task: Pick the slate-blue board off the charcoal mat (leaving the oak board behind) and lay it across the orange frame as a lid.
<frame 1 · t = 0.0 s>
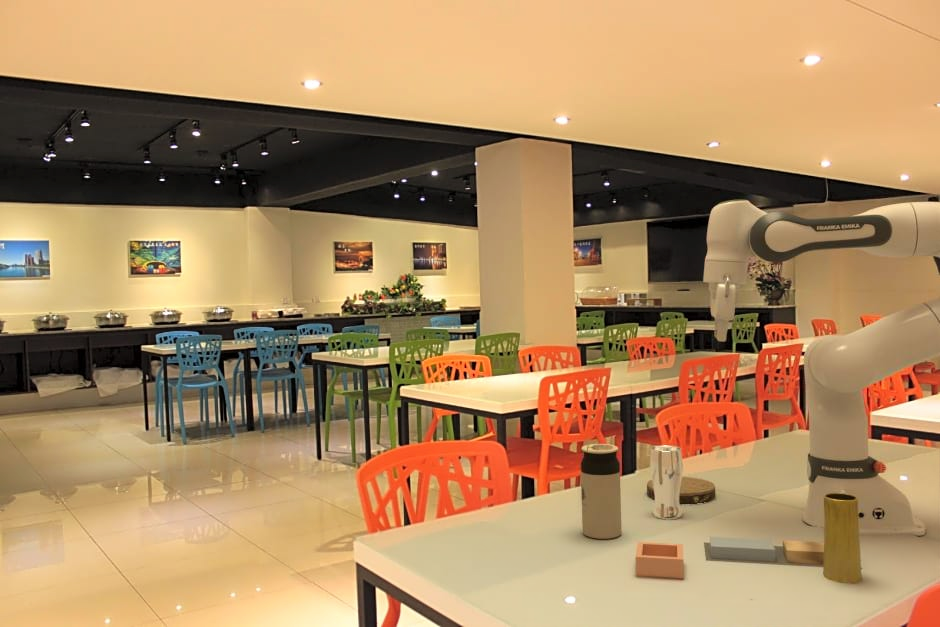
hand: (719, 339, 165), 39 cm above the table, tool pointing down, fingers open, 8 cm apart
travel mug: (602, 534, 158), on the table
vase: (842, 580, 130), on the table
oak board: (817, 558, 138), point 1 cm above the table, touching mat
orange frame: (660, 572, 136), on the table
wood slice coaster: (680, 497, 185), on the table
mat: (778, 558, 141), on the table
slate board: (741, 554, 141), point 1 cm above the table, touching mat
beer glass: (667, 516, 169), on the table
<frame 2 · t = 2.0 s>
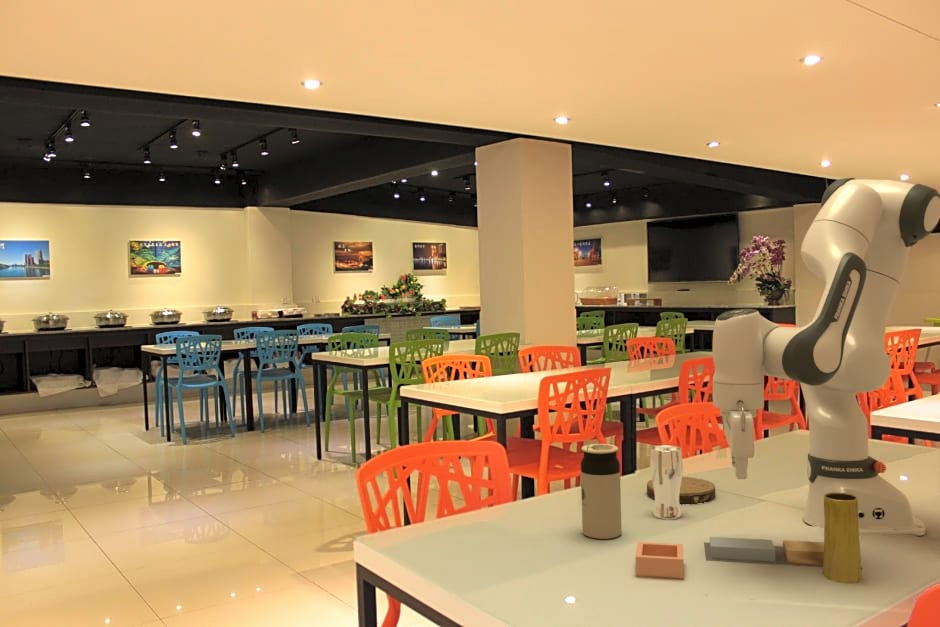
hand: (738, 472, 141), 16 cm above the table, tool pointing down, fingers open, 8 cm apart
nothing on the table moved.
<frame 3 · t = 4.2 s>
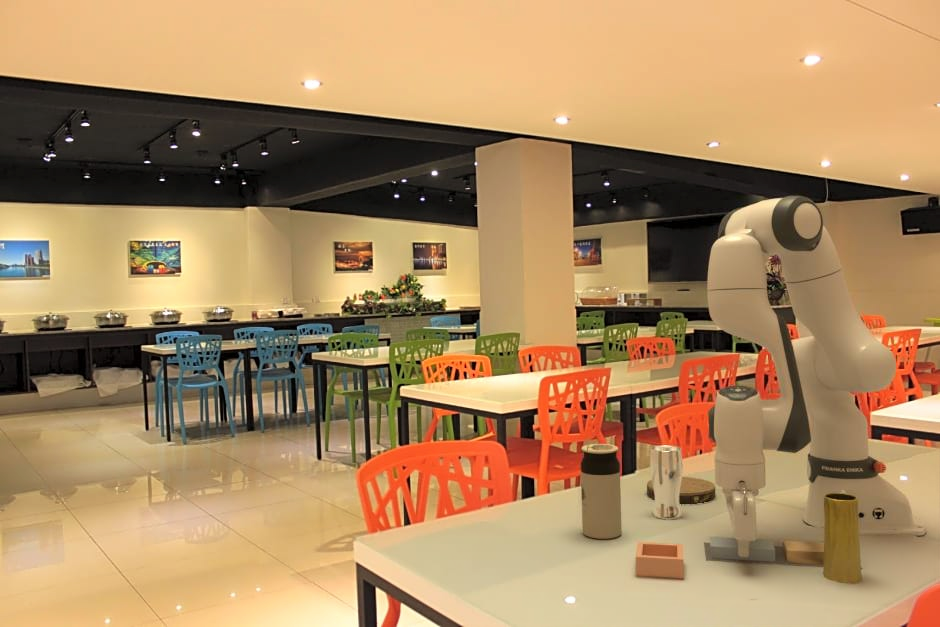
hand: (741, 549, 141), 2 cm above the table, tool pointing down, fingers closed on slate board, 5 cm apart
slate board: (741, 554, 141), point 1 cm above the table, touching gripper, mat
everything else where it was.
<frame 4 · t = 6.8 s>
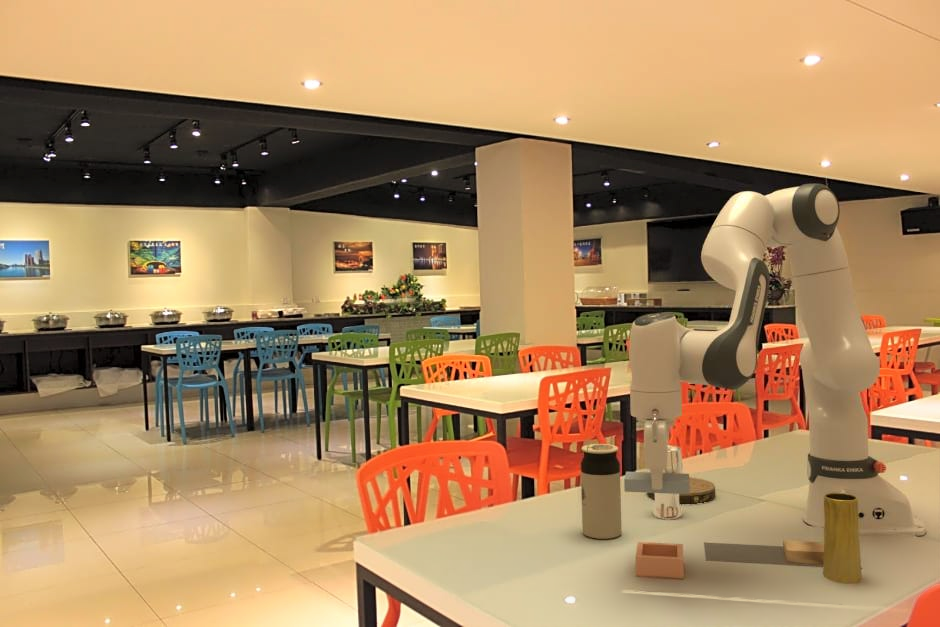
hand: (657, 483, 135), 16 cm above the table, tool pointing down, fingers closed on slate board, 5 cm apart
slate board: (657, 488, 135), point 15 cm above the table, touching gripper
everything else where it was.
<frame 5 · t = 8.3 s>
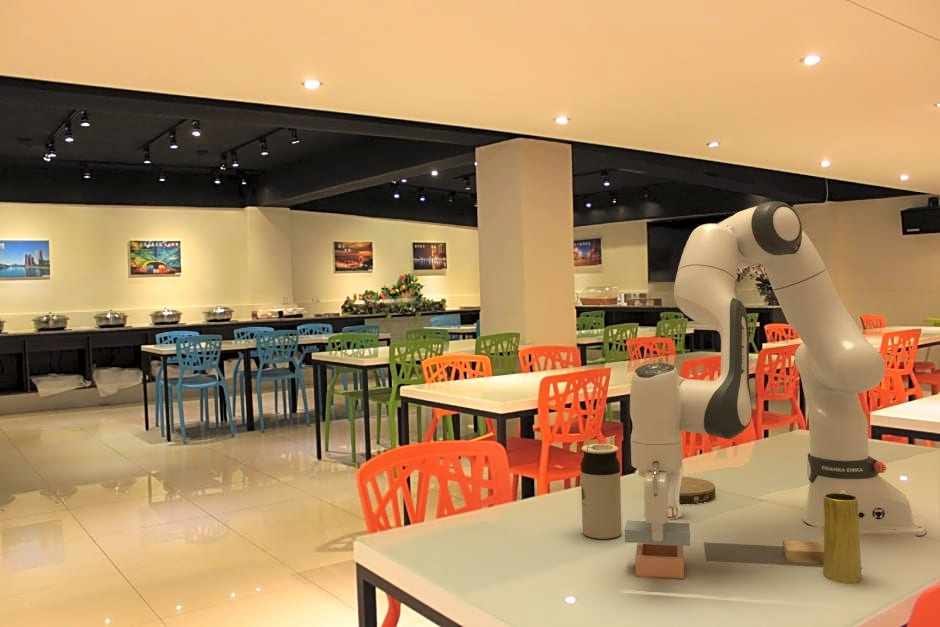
hand: (658, 533, 136), 7 cm above the table, tool pointing down, fingers closed on slate board, 5 cm apart
slate board: (657, 538, 136), point 6 cm above the table, touching gripper
everything else where it was.
when the fingers open (6 cm above the table, at t = 9.3 s): slate board drops 1 cm, resting on orange frame.
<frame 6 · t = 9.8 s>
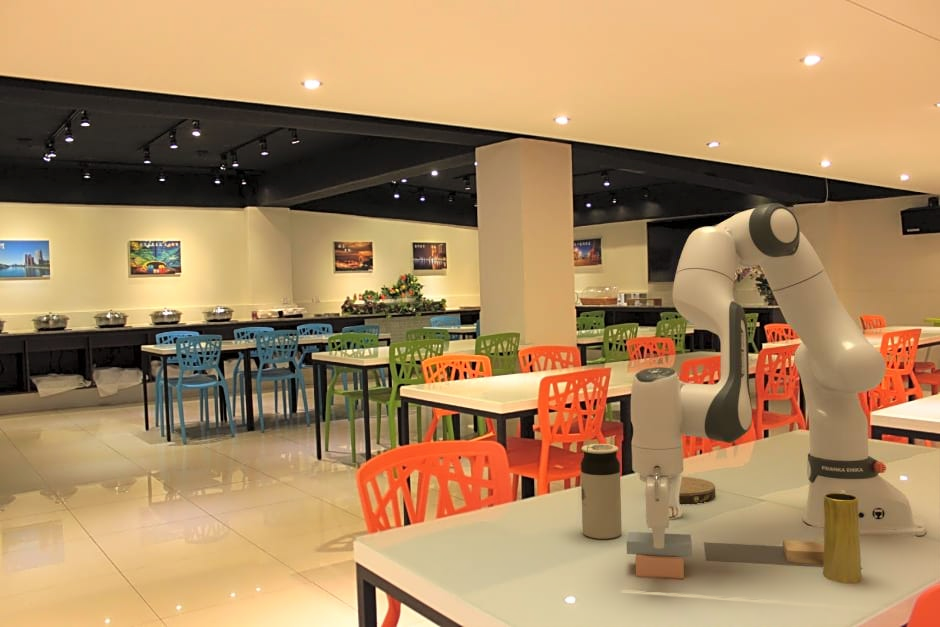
hand: (659, 538, 135), 6 cm above the table, tool pointing down, fingers open, 8 cm apart
slate board: (659, 550, 135), point 4 cm above the table, touching orange frame
everything else where it was.
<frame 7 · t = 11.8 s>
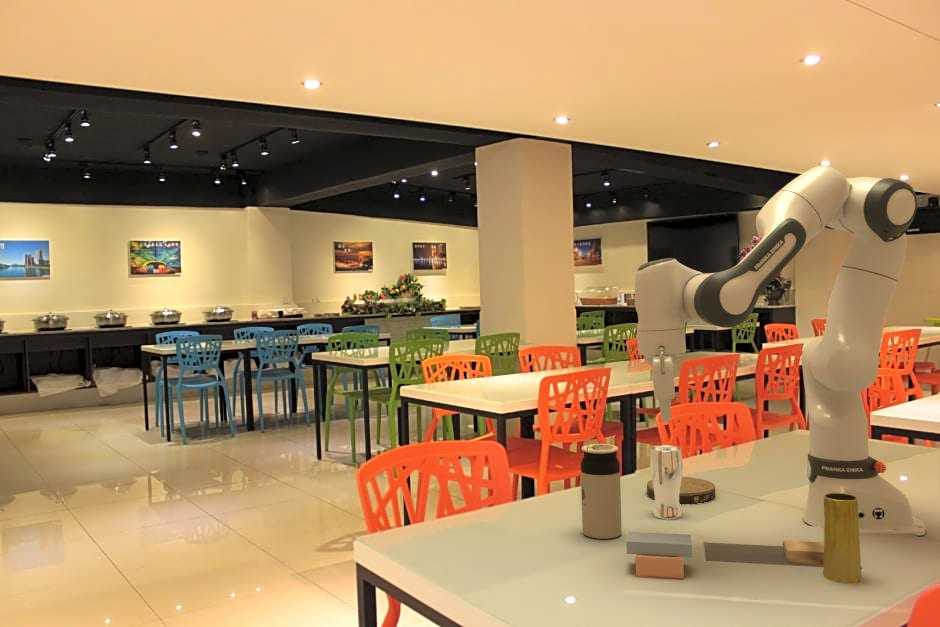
hand: (666, 416, 146), 26 cm above the table, tool pointing down, fingers open, 8 cm apart
nothing on the table moved.
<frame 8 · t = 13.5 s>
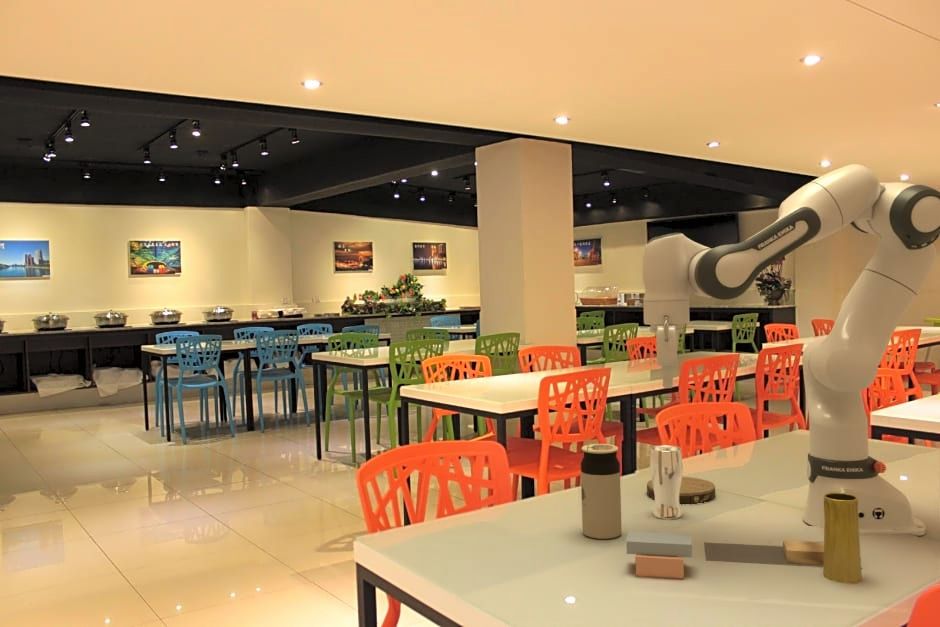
hand: (668, 384, 152), 31 cm above the table, tool pointing down, fingers open, 8 cm apart
nothing on the table moved.
at the end: slate board 0.1 cm off-centre on the orange frame, point 4.0 cm above the orange frame's base; slate board tilted 0°; the gripper is holding nothing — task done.
